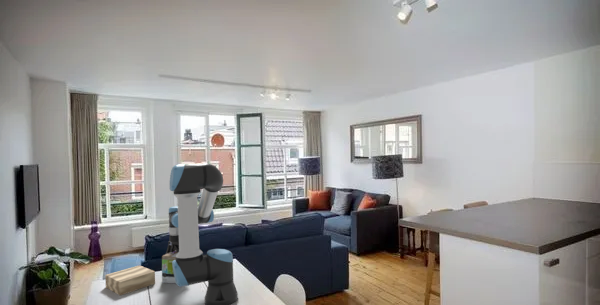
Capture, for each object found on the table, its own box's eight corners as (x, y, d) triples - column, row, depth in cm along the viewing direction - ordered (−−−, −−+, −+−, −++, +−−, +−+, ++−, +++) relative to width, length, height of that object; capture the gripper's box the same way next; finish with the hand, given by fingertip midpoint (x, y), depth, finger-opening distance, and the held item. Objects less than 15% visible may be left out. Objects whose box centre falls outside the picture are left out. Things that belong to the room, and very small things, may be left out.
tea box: (178, 283, 173) (177, 256, 173) (161, 283, 175) (160, 255, 175) (192, 273, 187) (192, 248, 188) (177, 273, 189) (176, 248, 190)
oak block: (155, 284, 174) (154, 271, 174) (120, 296, 160) (119, 282, 160) (139, 277, 185) (139, 265, 185) (105, 288, 171) (105, 274, 171)
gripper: (195, 235, 177) (196, 273, 177) (170, 230, 192) (171, 265, 191) (183, 238, 171) (184, 278, 171) (158, 232, 186) (159, 269, 185)
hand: (177, 271), depth 181 cm, fingers open, 13 cm apart
